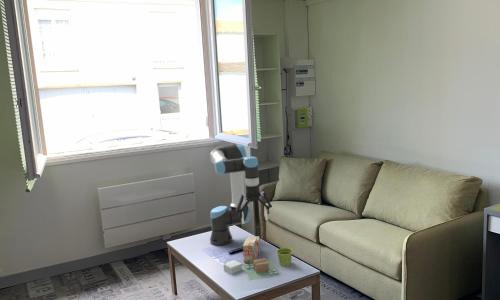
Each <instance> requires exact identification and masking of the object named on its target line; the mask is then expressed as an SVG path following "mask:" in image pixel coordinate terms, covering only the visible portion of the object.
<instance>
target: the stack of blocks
mask: <svg viewBox="0 0 500 300" xmlns="http://www.w3.org/2000/svg"><path fill="white" fill-rule="evenodd" d="M260 250H262V249H261V238H260V236H254V235H252V236H249V237H246V239H245V241H244V243H243V244H242V252H243V263H244V264H251V263H253V260H256V259H258V256H259V255H260V253H261V251H260ZM258 254H259V255H258Z"/></svg>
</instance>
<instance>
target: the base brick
mask: <svg viewBox="0 0 500 300" xmlns="http://www.w3.org/2000/svg"><path fill="white" fill-rule="evenodd" d="M267 261H268V260H267V258H266V257H263V258H256V260H253V264H254V270H255V271H256V273H263V272H267V271H268V270H269V264H268V262H267Z"/></svg>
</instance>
